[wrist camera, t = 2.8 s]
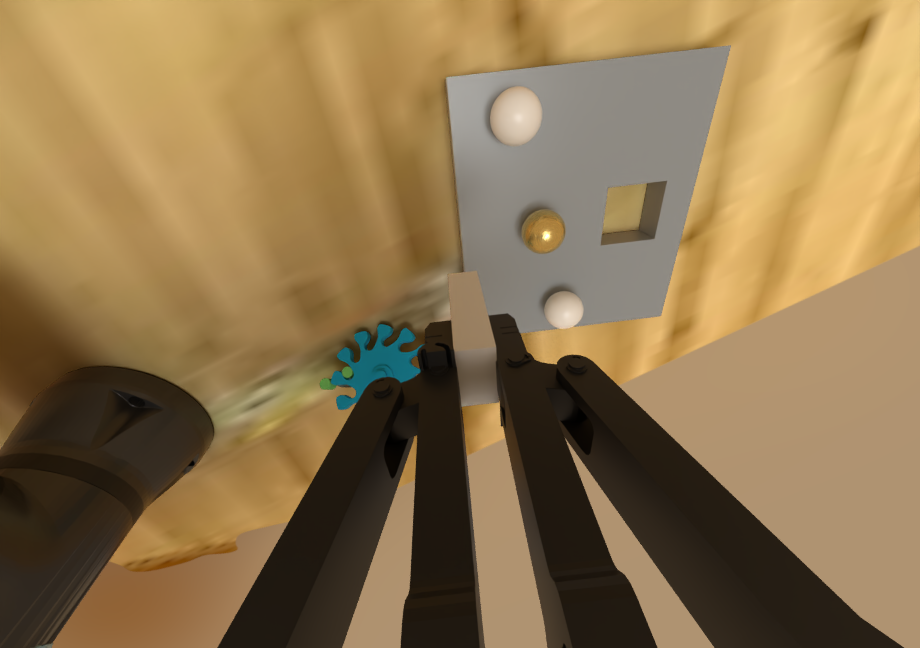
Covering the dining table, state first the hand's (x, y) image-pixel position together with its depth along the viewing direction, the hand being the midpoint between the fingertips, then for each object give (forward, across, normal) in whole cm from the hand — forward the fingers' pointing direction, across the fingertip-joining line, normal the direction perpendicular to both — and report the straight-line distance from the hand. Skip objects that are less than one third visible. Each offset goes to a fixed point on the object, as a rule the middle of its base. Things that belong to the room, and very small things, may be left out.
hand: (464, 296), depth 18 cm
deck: (+13, -9, 0) cm, 16 cm away
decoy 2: (+9, -4, -7) cm, 12 cm away
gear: (+13, +9, +12) cm, 20 cm away
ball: (+9, -6, 0) cm, 11 cm away
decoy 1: (+9, -8, +7) cm, 14 cm away
